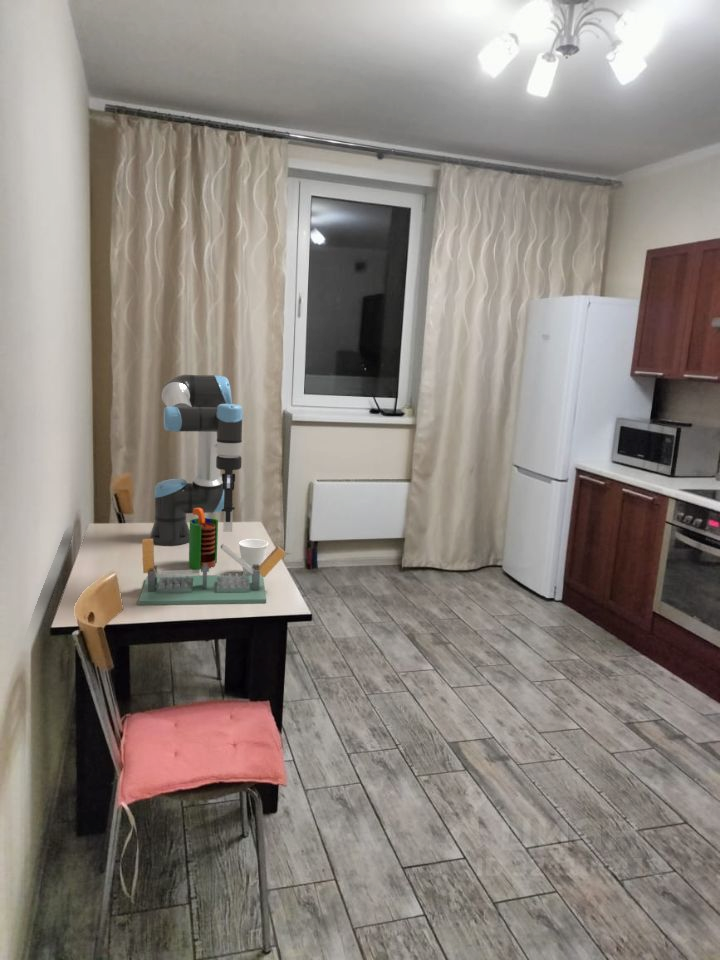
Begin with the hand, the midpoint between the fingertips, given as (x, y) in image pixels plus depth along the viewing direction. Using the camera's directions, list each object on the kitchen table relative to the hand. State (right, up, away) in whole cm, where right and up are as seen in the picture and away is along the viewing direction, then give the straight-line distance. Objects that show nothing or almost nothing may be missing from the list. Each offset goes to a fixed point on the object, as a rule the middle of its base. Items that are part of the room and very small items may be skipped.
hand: (227, 531), depth 214 cm
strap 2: (+3, -11, +3) cm, 12 cm away
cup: (+5, -16, +20) cm, 26 cm away
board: (-8, -19, +3) cm, 21 cm away
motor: (-14, -14, +27) cm, 33 cm away
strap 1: (-17, -14, 0) cm, 22 cm away
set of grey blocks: (-8, -18, +2) cm, 19 cm away
